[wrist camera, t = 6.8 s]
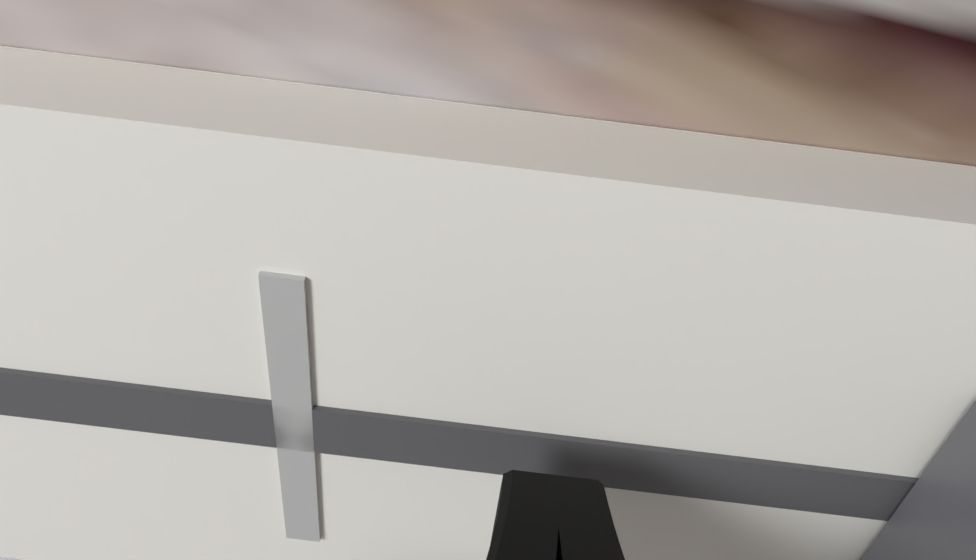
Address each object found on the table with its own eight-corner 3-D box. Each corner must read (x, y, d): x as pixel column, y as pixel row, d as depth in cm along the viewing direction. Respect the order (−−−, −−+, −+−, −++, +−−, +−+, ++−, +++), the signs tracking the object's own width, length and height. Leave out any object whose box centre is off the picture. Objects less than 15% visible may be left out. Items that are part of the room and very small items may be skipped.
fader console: (-5, 487, 16) (-52, 556, 15) (-232, 17, 10) (-347, 66, 9) (1028, 610, 16) (1068, 689, 15) (1433, 224, 10) (1558, 302, 9)
